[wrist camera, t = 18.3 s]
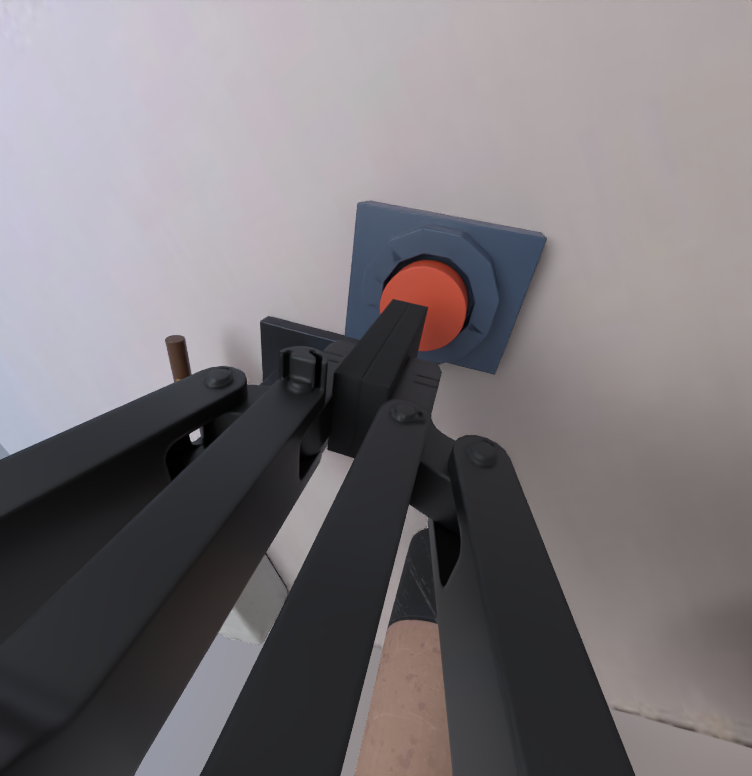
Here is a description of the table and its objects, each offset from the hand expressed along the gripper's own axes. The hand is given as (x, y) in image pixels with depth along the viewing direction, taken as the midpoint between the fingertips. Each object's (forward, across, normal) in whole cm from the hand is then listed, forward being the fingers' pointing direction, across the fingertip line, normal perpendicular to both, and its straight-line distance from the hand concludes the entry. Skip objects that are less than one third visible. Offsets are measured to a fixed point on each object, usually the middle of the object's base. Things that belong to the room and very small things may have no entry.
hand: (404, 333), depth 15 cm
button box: (+9, 0, 0) cm, 9 cm away
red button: (+5, 0, 0) cm, 5 cm away
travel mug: (+9, -7, +26) cm, 28 cm away
